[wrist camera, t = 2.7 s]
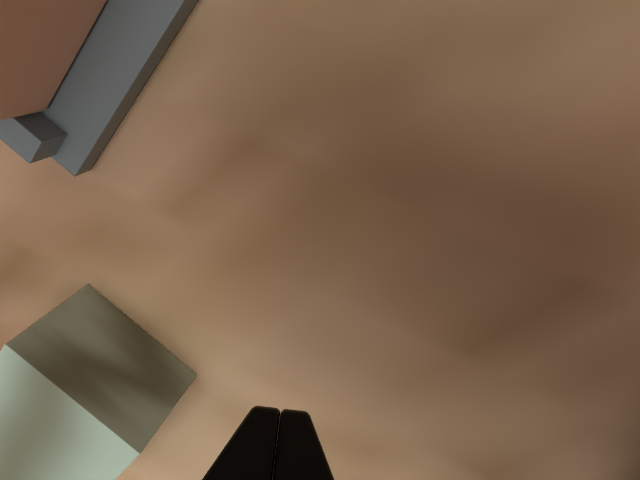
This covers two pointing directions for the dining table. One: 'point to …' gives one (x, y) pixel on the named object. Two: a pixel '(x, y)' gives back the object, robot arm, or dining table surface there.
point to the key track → (99, 84)
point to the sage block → (83, 392)
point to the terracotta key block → (39, 49)
